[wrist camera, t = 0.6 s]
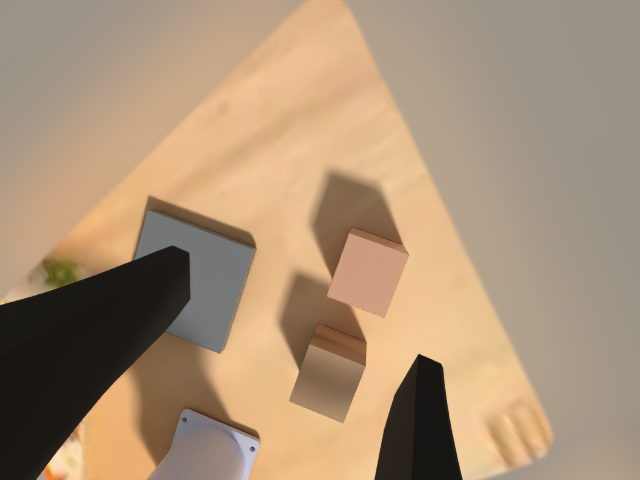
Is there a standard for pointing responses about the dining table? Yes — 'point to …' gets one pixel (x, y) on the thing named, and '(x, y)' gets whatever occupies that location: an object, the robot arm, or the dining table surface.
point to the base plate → (202, 276)
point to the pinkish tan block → (368, 272)
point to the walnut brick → (330, 373)
